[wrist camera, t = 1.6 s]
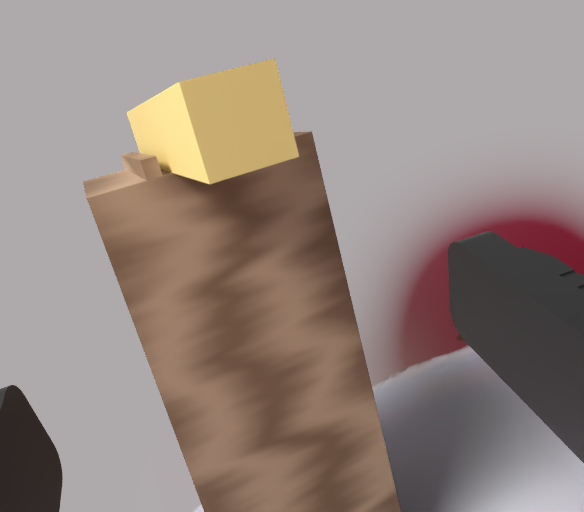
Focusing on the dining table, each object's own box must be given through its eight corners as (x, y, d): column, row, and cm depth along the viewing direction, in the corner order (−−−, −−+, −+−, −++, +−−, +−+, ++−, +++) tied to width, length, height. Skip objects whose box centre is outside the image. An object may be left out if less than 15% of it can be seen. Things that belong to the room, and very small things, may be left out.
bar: (192, 150, 38) (177, 99, 37) (299, 156, 20) (275, 58, 19) (143, 164, 37) (126, 112, 36) (209, 184, 19) (178, 81, 18)
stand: (340, 478, 49) (242, 121, 39) (415, 574, 38) (307, 112, 28) (218, 542, 45) (77, 167, 36) (263, 668, 35) (79, 177, 25)
